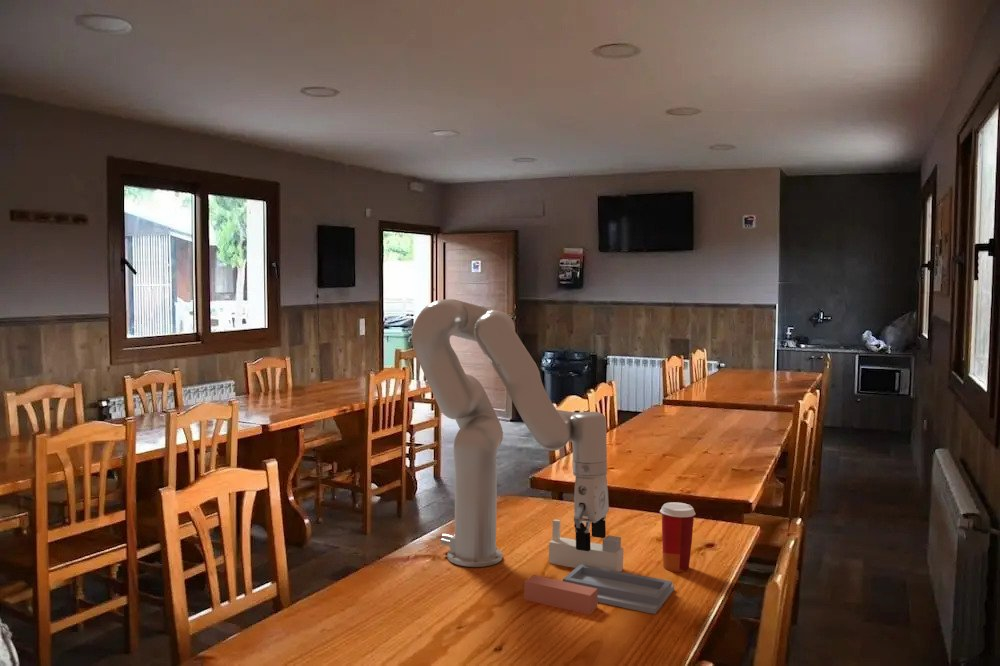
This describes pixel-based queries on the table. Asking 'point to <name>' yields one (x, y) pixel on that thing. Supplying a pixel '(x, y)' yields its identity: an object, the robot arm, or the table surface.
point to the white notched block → (585, 552)
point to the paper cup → (677, 535)
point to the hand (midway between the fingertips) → (591, 543)
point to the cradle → (623, 588)
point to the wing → (561, 594)
